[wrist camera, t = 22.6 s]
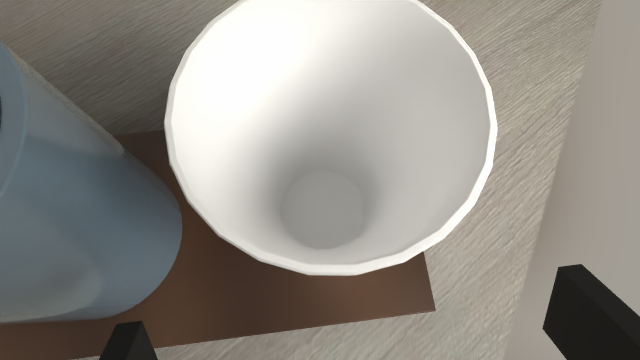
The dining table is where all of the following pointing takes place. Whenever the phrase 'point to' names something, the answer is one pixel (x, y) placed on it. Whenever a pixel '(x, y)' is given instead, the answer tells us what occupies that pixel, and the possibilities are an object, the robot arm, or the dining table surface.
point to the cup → (330, 131)
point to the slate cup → (74, 209)
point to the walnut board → (225, 291)
